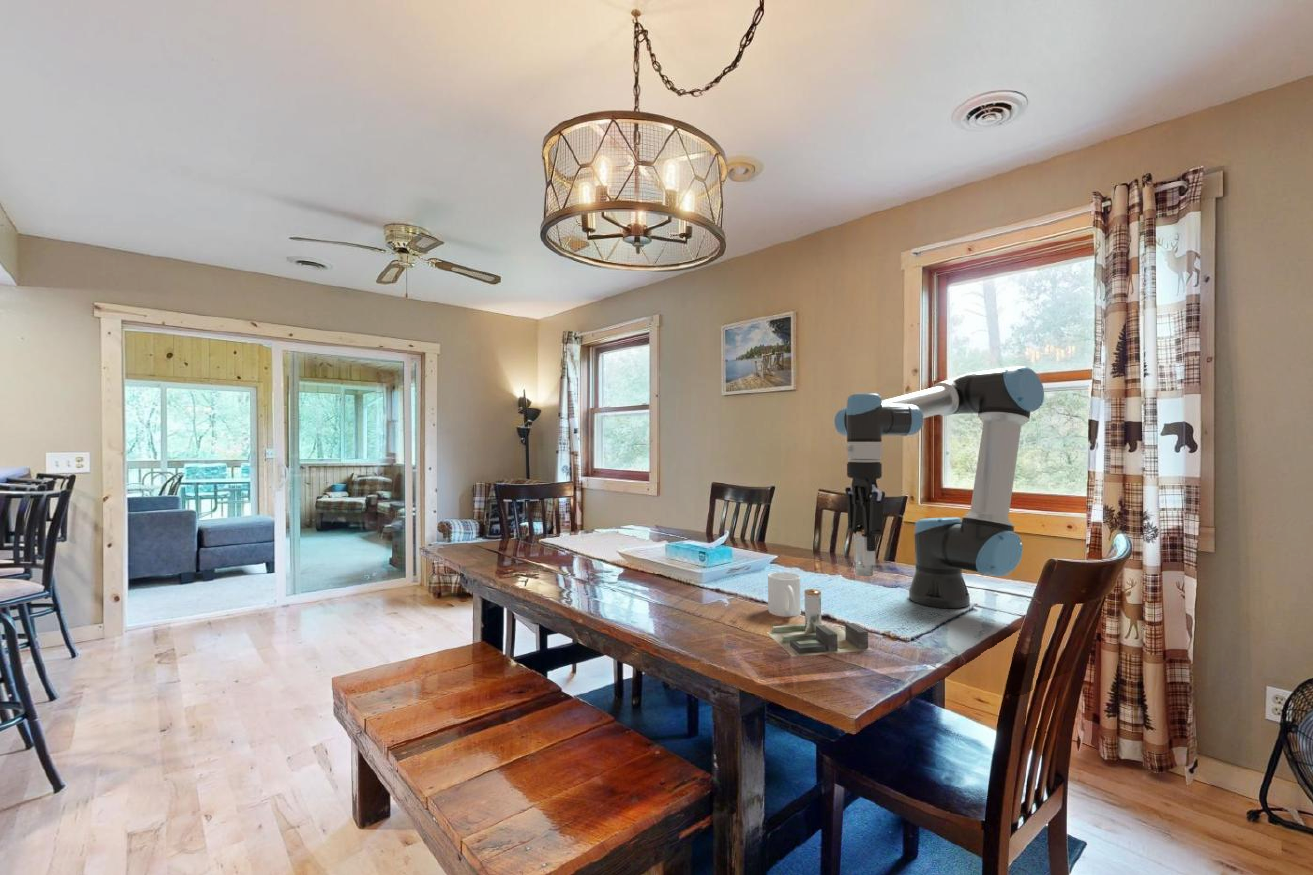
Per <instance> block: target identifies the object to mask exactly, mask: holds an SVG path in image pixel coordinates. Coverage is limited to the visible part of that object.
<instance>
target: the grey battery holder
mask: <svg viewBox="0 0 1313 875" xmlns="http://www.w3.org/2000/svg"><path fill="white" fill-rule="evenodd" d="M844 629H845V630H844ZM844 629H843V628H841V627H839V626H832V627H828V626H826V625H825V624H823V625H822V624H821V625H819V626H816V633H809V634H805V623H802V624H788V625H786V624H785V625H774V626H772V627H771V631H767V632H766V633H765V634H767V635H768V636H769V637H770V638H771V639H773V640H774V642H776V643H777V644H778V645H779V646H780V647H781V648H782V649H783V650H784V651H785V652H787V653H788V655H790V656H791V657H792V658H794V657H806V656H807V657H808V656H817V655H820V656H821V655H830V654H832V655H833V654H842V653H843V654H844V653H851V652H852V653H854V652H865V651H866V652H869V651H873V649H872V648H871V647H870V646H869V631H867V630H866V629H864V628H862V627H860V626H859V624H858V625H857V624H856V623H855V622H848V623H844Z"/></svg>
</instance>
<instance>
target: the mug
mask: <svg viewBox="0 0 1313 875" xmlns="http://www.w3.org/2000/svg"><path fill="white" fill-rule="evenodd" d="M801 583H802V581H801V575H799V574H798V573H793V572H786V571H777V572H776V571H775V572H772V573H768V574H767V595H768V598H767V601H768V604H767V606H768V607H767V608H768V613H769V614H771V615H772V616H773V615H774V616H778V617H785V618H786V617H788V618H789V617H790V618H791V617H797V616H799V615H801V614H802V599H801V598H802V588H801V587H802V585H801Z"/></svg>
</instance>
